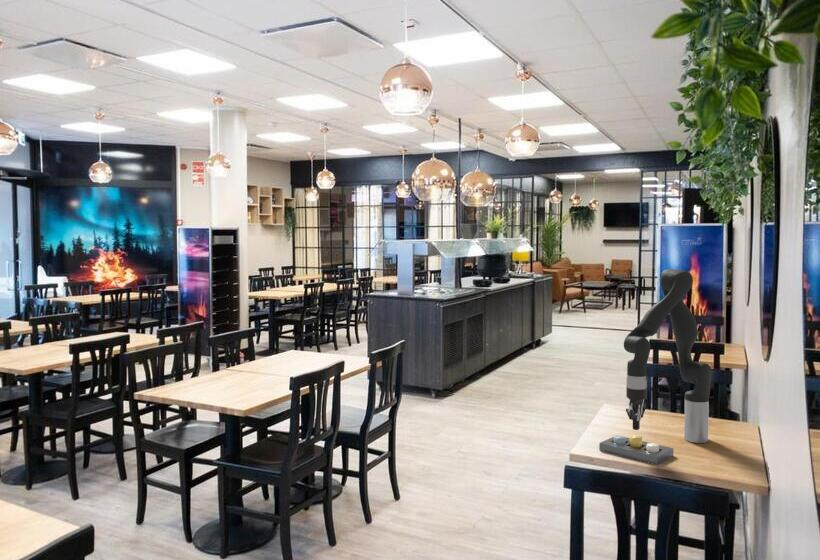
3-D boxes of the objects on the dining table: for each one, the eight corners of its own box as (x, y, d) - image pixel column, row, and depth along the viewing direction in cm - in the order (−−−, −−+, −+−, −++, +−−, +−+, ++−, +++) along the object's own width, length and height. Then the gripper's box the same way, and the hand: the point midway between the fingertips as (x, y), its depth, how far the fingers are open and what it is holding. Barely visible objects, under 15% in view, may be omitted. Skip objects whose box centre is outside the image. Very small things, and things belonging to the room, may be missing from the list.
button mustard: (633, 444, 256) (633, 434, 256) (644, 447, 253) (644, 436, 253) (627, 447, 253) (627, 437, 253) (638, 450, 250) (638, 439, 250)
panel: (616, 442, 267) (616, 435, 266) (673, 455, 249) (673, 448, 249) (599, 450, 257) (599, 442, 257) (656, 464, 240) (656, 457, 239)
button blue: (617, 444, 261) (617, 434, 261) (627, 447, 258) (627, 437, 258) (611, 447, 258) (611, 437, 258) (621, 450, 255) (622, 439, 255)
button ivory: (649, 452, 251) (649, 442, 251) (661, 455, 248) (661, 445, 248) (644, 455, 248) (644, 445, 248) (655, 458, 245) (655, 447, 245)
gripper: (637, 390, 244) (637, 435, 245) (653, 385, 253) (652, 427, 254) (619, 387, 249) (619, 431, 251) (635, 382, 259) (635, 424, 260)
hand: (636, 429), depth 252 cm, fingers closed
